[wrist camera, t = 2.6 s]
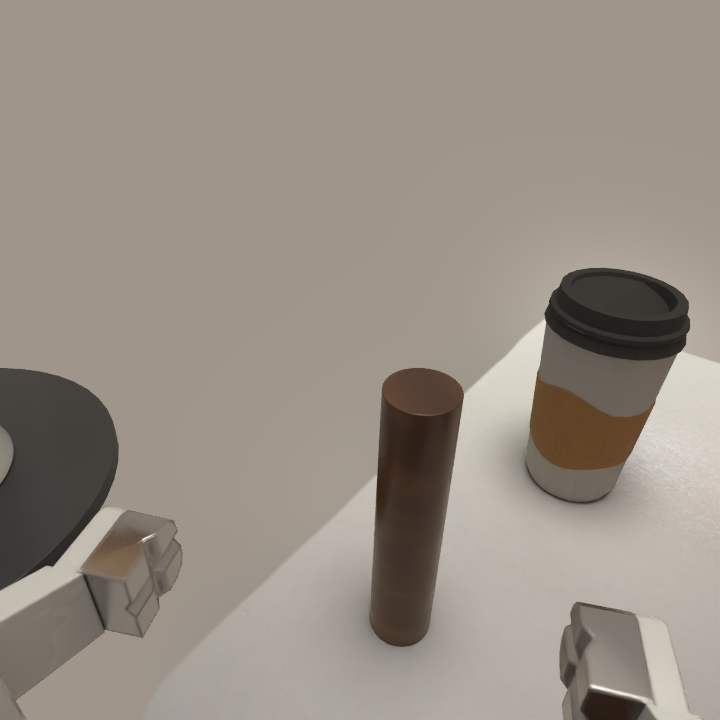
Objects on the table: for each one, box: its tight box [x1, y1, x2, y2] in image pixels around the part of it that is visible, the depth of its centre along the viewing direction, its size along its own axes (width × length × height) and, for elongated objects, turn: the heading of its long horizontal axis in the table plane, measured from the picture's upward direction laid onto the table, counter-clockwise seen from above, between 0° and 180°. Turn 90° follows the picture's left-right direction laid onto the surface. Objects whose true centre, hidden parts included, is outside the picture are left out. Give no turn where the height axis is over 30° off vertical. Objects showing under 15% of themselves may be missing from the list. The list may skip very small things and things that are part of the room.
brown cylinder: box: [370, 368, 464, 646], centre depth 28 cm, size 3×3×16 cm
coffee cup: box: [526, 268, 690, 502], centre depth 38 cm, size 8×8×15 cm
